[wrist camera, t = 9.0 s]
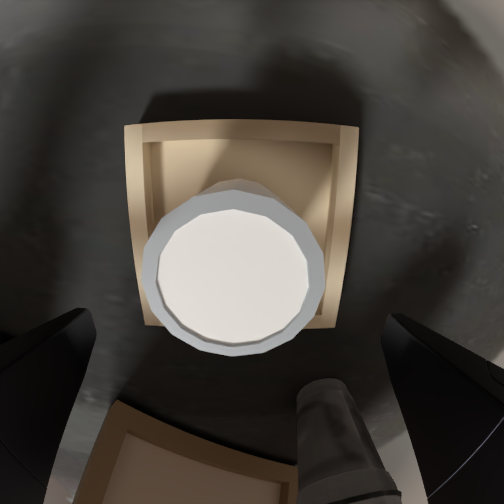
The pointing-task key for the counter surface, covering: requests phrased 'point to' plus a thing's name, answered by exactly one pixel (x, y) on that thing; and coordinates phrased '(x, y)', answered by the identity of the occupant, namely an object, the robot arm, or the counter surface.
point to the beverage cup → (337, 450)
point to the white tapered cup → (233, 270)
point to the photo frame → (175, 467)
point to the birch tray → (249, 168)
